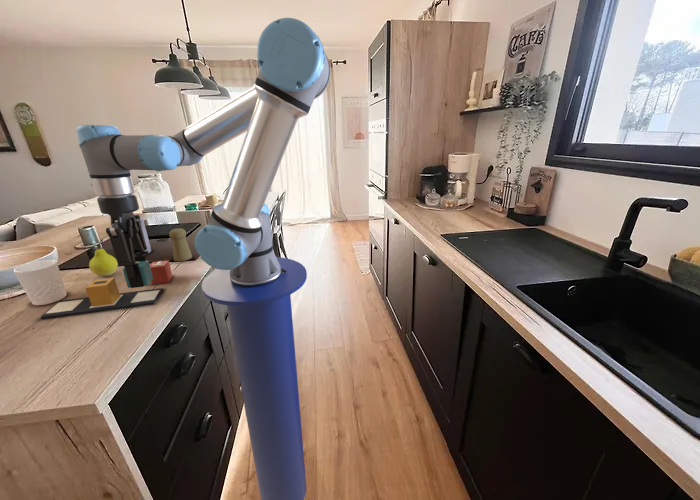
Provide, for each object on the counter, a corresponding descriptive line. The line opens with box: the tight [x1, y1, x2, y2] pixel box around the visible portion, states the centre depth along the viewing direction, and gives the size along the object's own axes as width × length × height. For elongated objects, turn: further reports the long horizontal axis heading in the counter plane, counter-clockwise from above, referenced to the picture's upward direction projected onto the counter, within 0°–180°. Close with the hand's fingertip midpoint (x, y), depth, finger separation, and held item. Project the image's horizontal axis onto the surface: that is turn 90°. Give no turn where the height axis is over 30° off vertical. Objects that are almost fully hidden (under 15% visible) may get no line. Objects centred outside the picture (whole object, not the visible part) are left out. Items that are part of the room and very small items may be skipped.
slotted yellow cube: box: [85, 277, 121, 307], centre depth 75 cm, size 4×4×6 cm
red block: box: [149, 259, 173, 285], centre depth 88 cm, size 4×4×6 cm
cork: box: [168, 228, 193, 262], centre depth 103 cm, size 6×6×11 cm
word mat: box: [40, 287, 164, 320], centre depth 76 cm, size 24×8×1 cm, turn 107°
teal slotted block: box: [122, 260, 153, 289], centre depth 76 cm, size 4×4×6 cm
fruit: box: [88, 238, 119, 277], centre depth 90 cm, size 7×7×12 cm
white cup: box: [12, 259, 68, 306], centre depth 76 cm, size 8×8×10 cm
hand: (141, 282), depth 77 cm, fingers closed on teal slotted block, 4 cm apart
